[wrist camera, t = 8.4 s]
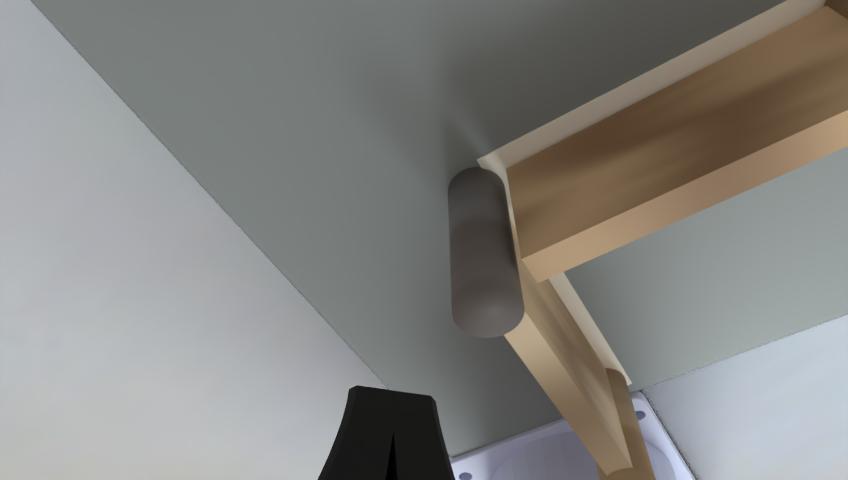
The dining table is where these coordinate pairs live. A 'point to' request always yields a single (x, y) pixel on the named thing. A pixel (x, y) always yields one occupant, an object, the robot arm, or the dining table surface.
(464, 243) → the fence base
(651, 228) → the fence gate
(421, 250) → the board
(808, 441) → the dining table surface
